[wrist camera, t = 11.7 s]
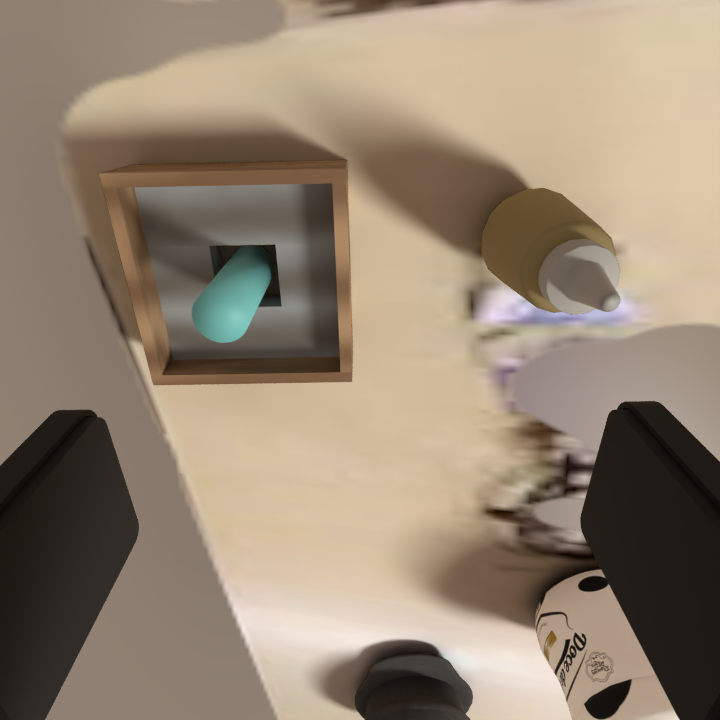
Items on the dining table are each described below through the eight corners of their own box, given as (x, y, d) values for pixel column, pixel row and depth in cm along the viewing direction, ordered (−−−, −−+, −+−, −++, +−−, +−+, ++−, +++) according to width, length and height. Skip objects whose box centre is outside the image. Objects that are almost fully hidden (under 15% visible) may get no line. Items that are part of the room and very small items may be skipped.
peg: (228, 245, 44) (186, 291, 33) (272, 244, 44) (244, 289, 33) (234, 287, 46) (197, 343, 35) (276, 286, 45) (251, 342, 35)
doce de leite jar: (505, 588, 66) (551, 742, 50) (626, 535, 61) (720, 687, 45) (559, 649, 73) (615, 802, 57) (673, 606, 68) (768, 759, 52)
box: (133, 164, 40) (98, 173, 35) (347, 160, 40) (345, 168, 35) (175, 354, 49) (153, 385, 44) (352, 351, 49) (352, 381, 43)
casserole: (470, 725, 83) (481, 786, 75) (362, 731, 84) (363, 792, 76) (470, 636, 71) (483, 698, 64) (345, 644, 72) (344, 707, 65)
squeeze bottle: (463, 268, 45) (521, 359, 29) (482, 176, 41) (560, 222, 25) (548, 276, 45) (651, 370, 29) (575, 186, 41) (710, 237, 25)
